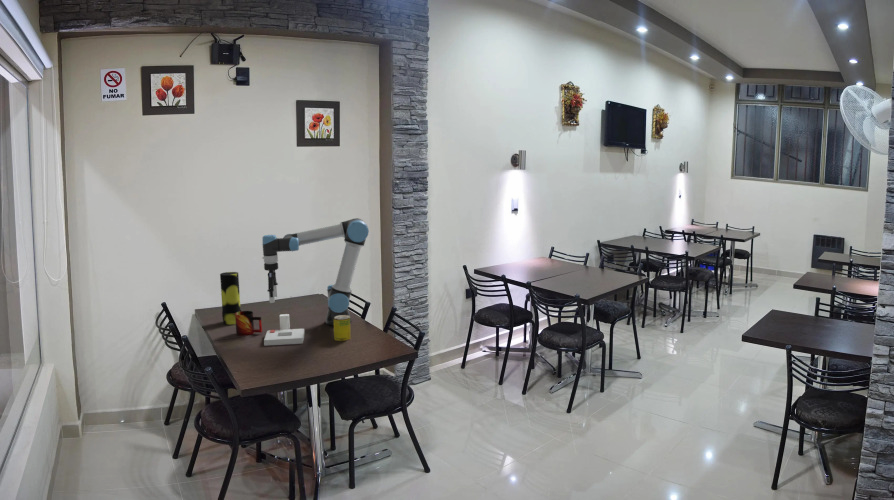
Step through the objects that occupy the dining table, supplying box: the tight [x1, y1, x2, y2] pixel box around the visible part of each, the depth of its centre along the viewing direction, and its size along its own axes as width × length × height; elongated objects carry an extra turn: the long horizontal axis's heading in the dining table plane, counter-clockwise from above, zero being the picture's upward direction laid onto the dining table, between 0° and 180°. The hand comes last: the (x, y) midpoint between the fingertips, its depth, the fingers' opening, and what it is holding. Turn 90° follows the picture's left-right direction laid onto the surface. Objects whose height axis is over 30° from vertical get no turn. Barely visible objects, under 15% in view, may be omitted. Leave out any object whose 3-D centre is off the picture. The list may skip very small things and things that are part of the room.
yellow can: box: [333, 315, 352, 342], centre depth 339 cm, size 9×9×12 cm
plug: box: [279, 313, 291, 330], centre depth 351 cm, size 5×4×10 cm
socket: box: [263, 328, 305, 347], centre depth 338 cm, size 20×18×4 cm
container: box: [219, 271, 242, 326], centre depth 370 cm, size 11×11×30 cm
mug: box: [235, 310, 263, 337], centre depth 349 cm, size 10×14×12 cm
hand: (273, 299), depth 348 cm, fingers open, 13 cm apart
